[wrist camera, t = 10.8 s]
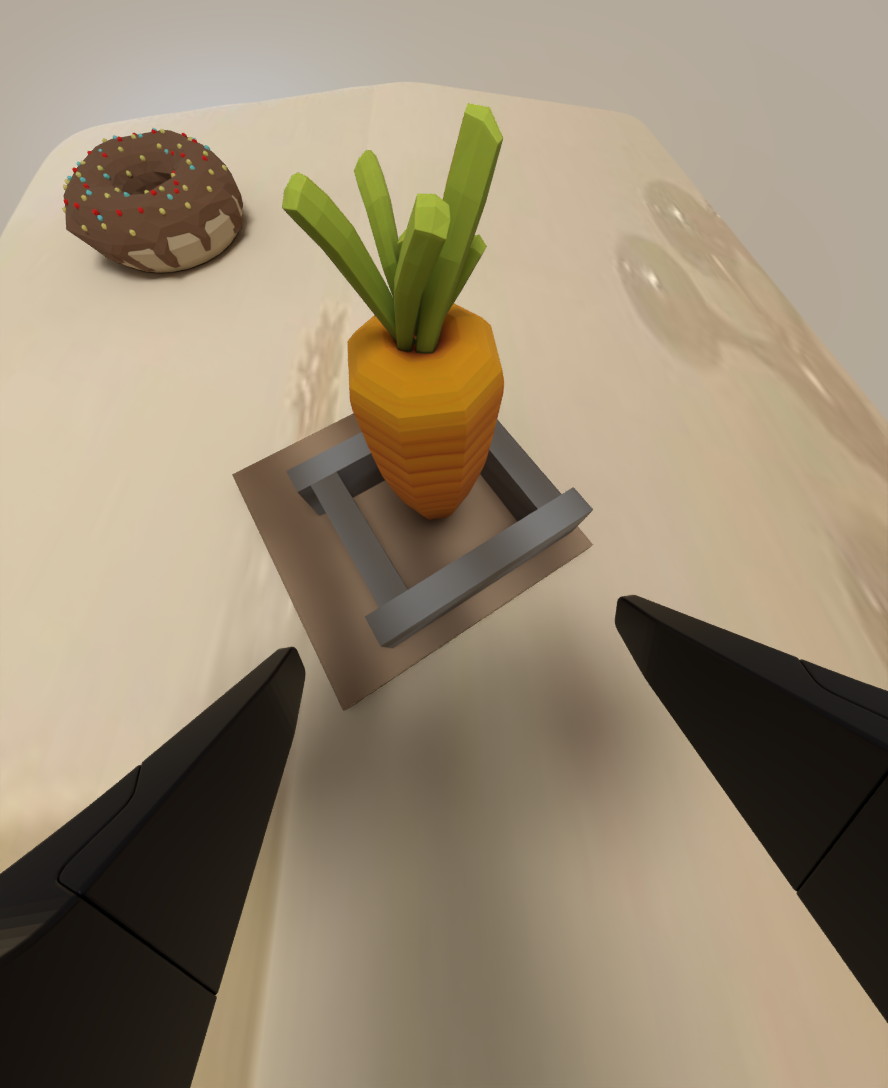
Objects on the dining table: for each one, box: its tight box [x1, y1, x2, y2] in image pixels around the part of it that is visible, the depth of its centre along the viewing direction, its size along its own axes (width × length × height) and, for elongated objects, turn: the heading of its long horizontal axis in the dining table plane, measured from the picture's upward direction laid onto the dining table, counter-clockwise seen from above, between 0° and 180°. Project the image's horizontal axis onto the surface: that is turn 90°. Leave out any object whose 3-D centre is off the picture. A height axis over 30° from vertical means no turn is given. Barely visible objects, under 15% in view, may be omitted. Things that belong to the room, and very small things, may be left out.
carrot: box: [282, 103, 504, 520], centre depth 12 cm, size 5×5×15 cm
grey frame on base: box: [232, 413, 593, 711], centre depth 19 cm, size 16×16×4 cm
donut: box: [63, 128, 243, 273], centre depth 28 cm, size 14×14×5 cm
